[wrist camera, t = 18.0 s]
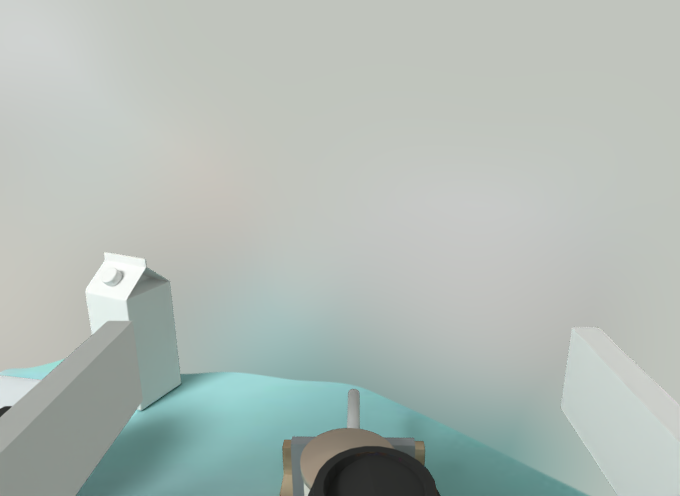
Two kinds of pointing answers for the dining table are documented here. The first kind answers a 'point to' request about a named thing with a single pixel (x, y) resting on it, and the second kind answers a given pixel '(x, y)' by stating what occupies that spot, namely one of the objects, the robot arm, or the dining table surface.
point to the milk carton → (139, 318)
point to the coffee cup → (373, 474)
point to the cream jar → (333, 449)
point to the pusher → (352, 422)
